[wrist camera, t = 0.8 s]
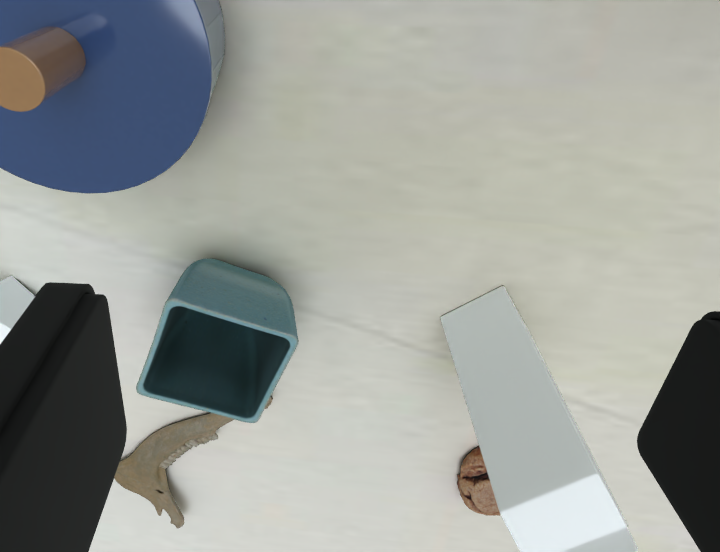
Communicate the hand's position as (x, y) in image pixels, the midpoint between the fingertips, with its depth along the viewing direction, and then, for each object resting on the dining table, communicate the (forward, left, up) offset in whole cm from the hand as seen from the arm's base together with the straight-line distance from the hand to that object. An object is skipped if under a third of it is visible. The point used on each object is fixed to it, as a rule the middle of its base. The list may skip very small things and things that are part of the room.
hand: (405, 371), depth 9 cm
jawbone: (+39, +10, -32) cm, 52 cm away
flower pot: (+21, +3, -32) cm, 38 cm away
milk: (+13, +23, -32) cm, 41 cm away
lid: (+7, -12, -24) cm, 27 cm away
